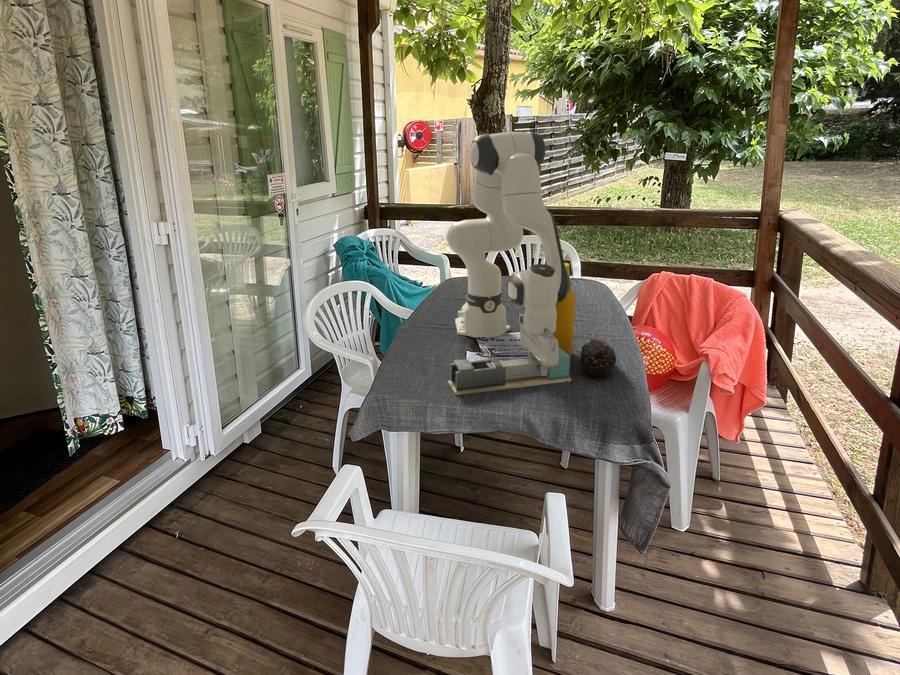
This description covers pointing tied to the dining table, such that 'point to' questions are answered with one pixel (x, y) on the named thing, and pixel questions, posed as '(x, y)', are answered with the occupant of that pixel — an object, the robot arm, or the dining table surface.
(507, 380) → the board
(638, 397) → the dining table surface
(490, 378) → the sleeve
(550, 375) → the teal cube
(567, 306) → the beer bottle
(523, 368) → the slip tube
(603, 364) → the pine cone
